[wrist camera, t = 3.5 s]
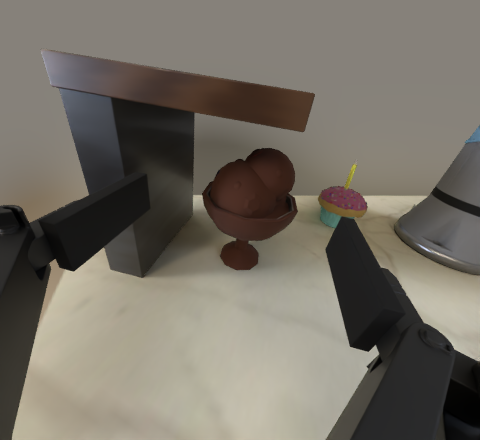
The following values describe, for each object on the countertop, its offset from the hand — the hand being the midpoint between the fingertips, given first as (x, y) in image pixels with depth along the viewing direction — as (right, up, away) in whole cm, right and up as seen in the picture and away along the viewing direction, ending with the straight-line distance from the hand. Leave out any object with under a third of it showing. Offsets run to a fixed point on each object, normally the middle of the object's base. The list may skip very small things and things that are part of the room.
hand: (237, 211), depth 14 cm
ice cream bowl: (0, -6, +15) cm, 16 cm away
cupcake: (+19, -1, +27) cm, 33 cm away
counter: (-5, -4, +15) cm, 17 cm away
